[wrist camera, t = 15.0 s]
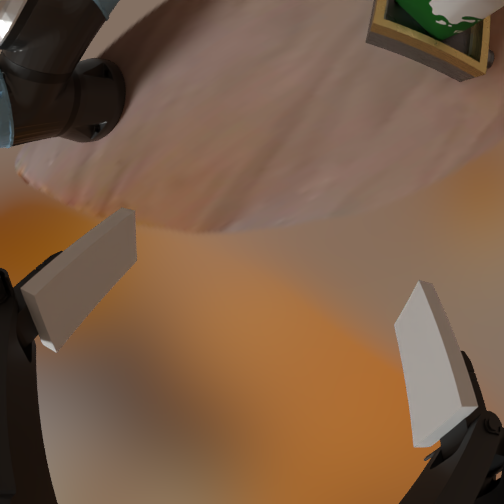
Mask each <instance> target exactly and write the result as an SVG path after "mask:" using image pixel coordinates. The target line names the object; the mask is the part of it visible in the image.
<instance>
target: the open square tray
mask: <svg viewBox="0 0 504 504" xmlns="http://www.w3.org/2000/svg"><path fill="white" fill-rule="evenodd" d="M489 37H490V15H489V16H488V17H486V18H485V19H483V20H481V21H480V22H478V23H477V24H475V25H474V26H472V27H470V28H468V29H467V30H465V31H463V32H460V33H458V34H456V35H453V36H451V37H449V38H446V39H444V40H442V41H438V40H435V39H434V38H433V37H432V36H431V35H430V34H429V33H428V32H427V31H426V30H425V29H424V28H423V27H422V26H421V25H420V24H419V23H418V22H417V21H416V20H415V19H414V18H413V17H412V16H411V15H410V14H409V13H407V12H406V11H405V10H404V9H403V8H402V7H401V6H400V5H399V4H397V3H396V2H395V1H394V0H374V3H373V9H372V14H371V19H370V24H369V29H368V34H367V38H366V43H369V44H372V45H375V46H378V47H381V48H384V49H386V50H389V51H392V52H395V53H397V54H400V55H402V56H405V57H407V58H410V59H412V60H415V61H417V62H419V63H422V64H424V65H426V66H429V67H431V68H433V69H435V70H437V71H439V72H441V73H443V74H445V75H447V76H449V77H451V78H453V79H455V80H457V81H459V82H462V81H465V80H468V79H471V78H474V77H478V76H481V75H484V74H486V68H487V69H488V68H490V67H491V65H492V64H493V61H494V53H493V51H491V50H490V49H489Z"/></svg>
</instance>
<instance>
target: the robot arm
mask: <svg viewBox="0 0 504 504" xmlns="http://www.w3.org/2000/svg"><path fill="white" fill-rule="evenodd" d="M118 2H119V0H0V49H1V50H2V52H1V54H0V148H3V147H6V148H10V147H11V146H15V145H20V144H24V143H28V142H33V141H38V140H42V139H47V138H52V137H58V136H59V137H62V138H66V139H69V140H73V141H76V142H91V141H96V140H99V139H101V138H103V137H105V136H106V135H107V134H108V133H109V132H110V131H111V130H112V129H113V128H114V126H115V125H116V123H117V121H118V120H119V118H120V115H121V113H122V110H123V106H124V101H125V83H124V78H123V75H122V73H121V71H120V69H119V68H118V67H117V66H116V65H115V64H114V63H113V62H111V61H109V60H105V59H99V58H91V59H87V60H83V61H80V59H81V57H82V56H83V54H84V53H85V51H86V49H87V48H88V46H89V44H90V43H91V41H92V40H93V38H94V37H95V35H96V34H97V32H98V31H99V29H100V28H101V26H102V25H103V23H104V22H105V21H107V20H108V19H109V15H110V13H111V12H112V10H113V9H114V7H115V6H116V5H117V3H118ZM79 61H80V62H79ZM136 261H137V253H136V228H135V211H134V210H130V209H126V208H120V209H119V210H118V211H116V212H115V213H113V214H112V215H111V216H109V217H108V218H106V219H105V220H104V221H102V222H101V223H100V224H98V225H97V226H95V227H94V228H93V229H91V230H90V231H89V232H87V233H86V234H85V235H84V236H82V237H81V238H80V239H78V240H77V241H76V242H75V243H73V244H72V245H71V246H69V247H68V248H67V249H66V250H64V251H60V252H58V253H56V254H53V255H52V256H50V257H49V258H48V259H46V260H45V261H44V262H43V263H42V264H40V265H39V266H38V267H36V270H33V271H32V272H31V273H29V274H28V275H27V276H26V277H25V278H24V279H23V280H21V281H20V282H19V283H18V284H17V285H16V286H15V287H14V288H13V287H12V284H11V281H10V278H9V275H8V272H7V271H6V270H5V269H2V268H0V504H58V503H57V500H56V497H55V493H54V489H53V485H52V481H51V477H50V473H49V468H48V464H47V459H46V454H45V448H44V443H43V437H42V430H41V423H40V414H39V404H38V392H37V375H36V344H35V341H34V339H35V337H36V336H37V335H39V337H40V339H41V341H42V343H43V345H44V346H46V347H48V348H49V349H51V350H53V351H55V352H58V351H59V349H60V348H61V347H62V346H63V344H64V343H65V342H66V340H67V339H68V338H69V337H70V336H71V335H72V333H73V332H74V331H75V330H76V328H77V327H78V326H79V325H80V324H81V323H82V321H83V320H84V319H85V318H86V317H87V316H88V314H89V313H90V312H91V311H92V310H93V309H94V307H95V306H96V305H97V304H98V303H99V302H100V301H101V299H102V298H103V297H104V296H105V295H106V294H107V293H108V292H109V290H110V289H111V288H112V287H113V286H114V285H115V284H116V283H117V282H118V281H119V279H120V278H121V277H122V276H123V275H124V274H125V273H126V272H127V271H128V270H129V269H130V267H131V266H132V265H133V264H134V263H135V262H136ZM394 327H395V331H396V336H397V340H398V345H399V350H400V355H401V360H402V365H403V371H404V377H405V382H406V388H407V395H408V401H409V409H410V416H411V424H412V434H413V445H414V447H430V446H432V445H433V444H434V443H436V442H437V441H438V440H440V442H441V447H439V448H438V449H437V450H435V451H434V452H432V453H431V454H430V455H428V456H427V457H426V458H425V459H424V461H426V460H428V459H429V458H431V457H432V458H431V459H430V461H429V463H428V464H427V465H426V467H425V468H424V470H423V472H422V473H421V474H420V476H419V477H418V479H417V480H416V482H415V483H414V484H413V486H412V487H411V488H410V490H409V491H408V492H407V494H406V495H405V496H404V498H403V499H402V500H401V501H400V503H399V504H504V428H503V427H502V424H501V422H500V420H499V418H498V417H497V416H496V414H494V413H492V412H491V411H487V410H486V407H485V403H484V400H483V397H482V393H481V390H480V387H479V384H478V382H477V378H476V375H475V373H474V369H473V366H472V363H471V361H470V359H469V358H468V356H467V355H466V353H465V352H464V351H460V348H459V345H458V343H457V340H456V338H455V335H454V332H453V330H452V327H451V326H450V323H449V320H448V318H447V316H446V313H445V311H444V308H443V306H442V304H441V302H440V299H439V297H438V295H437V293H436V291H435V288H434V286H433V284H432V283H428V282H424V281H420V280H419V281H418V283H417V285H416V287H415V288H414V291H413V292H412V294H411V296H410V298H409V300H408V302H407V303H406V305H405V307H404V309H403V310H402V312H401V314H400V316H399V318H398V319H397V321H396V323H395V324H394ZM501 471H502V475H501V478H499V479H497V480H496V474H498V473H499V472H501Z"/></svg>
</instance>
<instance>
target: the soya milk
mask: <svg viewBox="0 0 504 504" xmlns="http://www.w3.org/2000/svg"><path fill="white" fill-rule="evenodd" d="M394 1H395V2H396V3H397V4H399V5H400V6H401V7H402V8H403V9H404V10H405V11H406V12H407V13H409V14H410V15H411V16H412V17H413V18H414V19H415V20H416V21H417V22H418V23H419V24H420V25H421V26H422V27H423V28H424V29H425V30H426V31H427V32H428V33H429V34H430V35H431V36H432V37H433V38H434V39H435V40H438V41H442V40H444V39H446V38H449V37H451V36H453V35H456V34H458V33H460V32H463V31H465V30H467V29H468V28H470V27H472V26H474V25H475V24H477V23H478V22H480V21H481V20H483V19H485V18H486V17H488V16H489V15H491V14H492V13H494V12H495V11H497V10H499V9H500V8H502V7H503V6H504V0H394Z"/></svg>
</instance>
